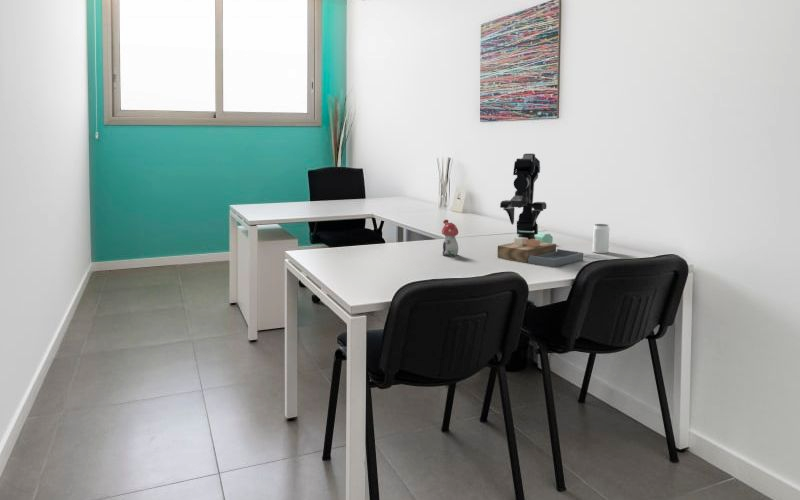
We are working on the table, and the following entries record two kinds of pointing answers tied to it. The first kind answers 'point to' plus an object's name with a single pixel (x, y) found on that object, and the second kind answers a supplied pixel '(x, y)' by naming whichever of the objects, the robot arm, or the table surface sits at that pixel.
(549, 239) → the container
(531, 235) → the robot arm
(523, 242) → the cream tile
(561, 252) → the box
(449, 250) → the decorative ornament
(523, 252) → the walnut plate
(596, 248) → the can
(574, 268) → the table surface
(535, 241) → the terracotta tile
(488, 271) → the table surface
